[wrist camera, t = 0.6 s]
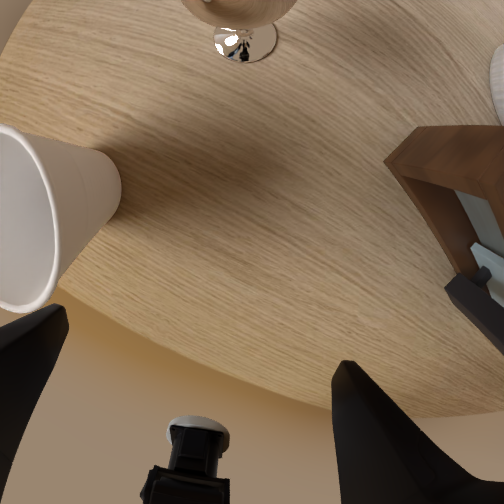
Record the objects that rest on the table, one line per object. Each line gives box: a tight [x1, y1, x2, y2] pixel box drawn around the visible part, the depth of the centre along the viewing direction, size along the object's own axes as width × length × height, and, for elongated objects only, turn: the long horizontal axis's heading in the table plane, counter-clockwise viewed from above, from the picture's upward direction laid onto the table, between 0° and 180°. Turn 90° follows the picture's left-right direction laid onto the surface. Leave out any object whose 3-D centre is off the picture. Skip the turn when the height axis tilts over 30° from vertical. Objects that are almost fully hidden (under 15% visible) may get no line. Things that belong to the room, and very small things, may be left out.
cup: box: [0, 123, 122, 313], centre depth 15 cm, size 10×10×11 cm
